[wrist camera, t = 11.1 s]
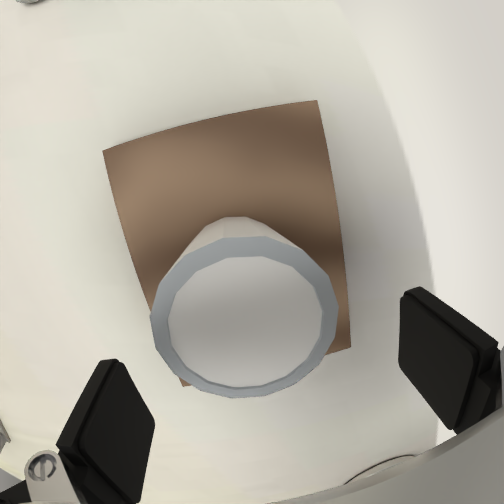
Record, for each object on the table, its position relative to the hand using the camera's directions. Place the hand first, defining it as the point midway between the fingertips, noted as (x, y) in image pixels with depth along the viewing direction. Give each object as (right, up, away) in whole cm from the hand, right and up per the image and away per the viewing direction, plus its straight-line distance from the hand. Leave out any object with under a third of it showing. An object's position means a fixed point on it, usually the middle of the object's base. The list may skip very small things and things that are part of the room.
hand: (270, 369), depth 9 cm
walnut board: (-1, +4, +9) cm, 10 cm away
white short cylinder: (-1, +3, +8) cm, 9 cm away
